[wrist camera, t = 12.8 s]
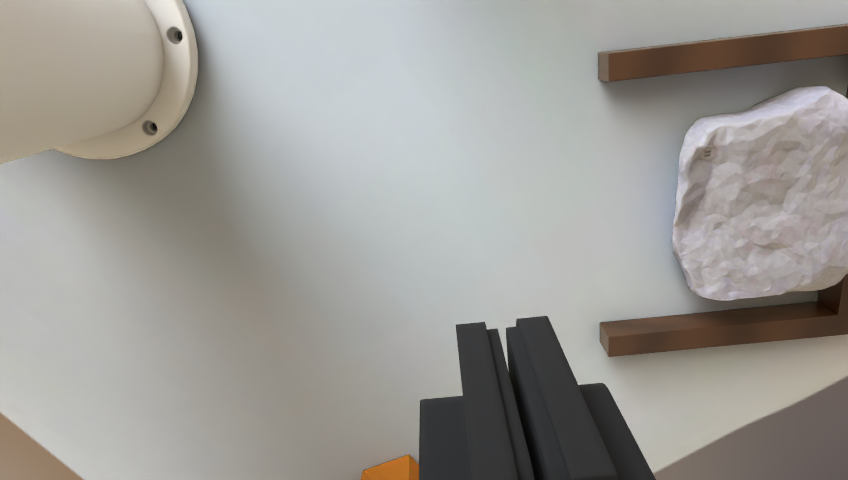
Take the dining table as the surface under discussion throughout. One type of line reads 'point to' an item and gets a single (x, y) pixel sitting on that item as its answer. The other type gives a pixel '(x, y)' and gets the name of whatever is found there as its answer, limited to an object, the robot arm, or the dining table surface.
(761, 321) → the frame
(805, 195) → the stone block
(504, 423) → the robot arm
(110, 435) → the dining table surface
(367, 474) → the decorative tree
